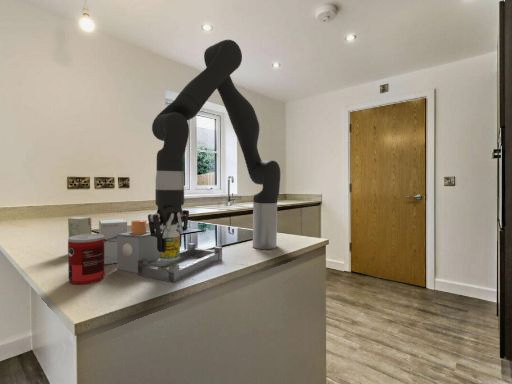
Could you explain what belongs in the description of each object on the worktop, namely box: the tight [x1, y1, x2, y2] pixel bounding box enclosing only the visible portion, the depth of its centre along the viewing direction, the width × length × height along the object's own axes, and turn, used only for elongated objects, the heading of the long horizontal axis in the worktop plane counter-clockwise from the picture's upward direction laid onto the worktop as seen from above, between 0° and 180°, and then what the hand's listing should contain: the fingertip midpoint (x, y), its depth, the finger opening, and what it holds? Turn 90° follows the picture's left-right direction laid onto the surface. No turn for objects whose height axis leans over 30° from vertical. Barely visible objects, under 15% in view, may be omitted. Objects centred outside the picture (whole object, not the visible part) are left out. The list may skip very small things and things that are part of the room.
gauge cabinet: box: [117, 230, 160, 274], centre depth 81 cm, size 8×8×10 cm
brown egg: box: [130, 219, 147, 235], centre depth 81 cm, size 4×4×6 cm
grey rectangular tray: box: [137, 242, 223, 283], centre depth 83 cm, size 23×12×4 cm, turn 156°
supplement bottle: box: [160, 224, 181, 261], centre depth 77 cm, size 5×5×10 cm
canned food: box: [67, 233, 105, 286], centre depth 71 cm, size 8×8×11 cm
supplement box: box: [98, 218, 128, 265], centre depth 87 cm, size 7×7×13 cm
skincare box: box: [67, 216, 93, 238], centre depth 95 cm, size 6×4×12 cm
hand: (169, 249), depth 77 cm, fingers closed on supplement bottle, 5 cm apart
